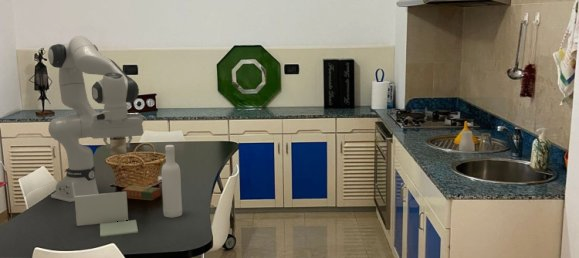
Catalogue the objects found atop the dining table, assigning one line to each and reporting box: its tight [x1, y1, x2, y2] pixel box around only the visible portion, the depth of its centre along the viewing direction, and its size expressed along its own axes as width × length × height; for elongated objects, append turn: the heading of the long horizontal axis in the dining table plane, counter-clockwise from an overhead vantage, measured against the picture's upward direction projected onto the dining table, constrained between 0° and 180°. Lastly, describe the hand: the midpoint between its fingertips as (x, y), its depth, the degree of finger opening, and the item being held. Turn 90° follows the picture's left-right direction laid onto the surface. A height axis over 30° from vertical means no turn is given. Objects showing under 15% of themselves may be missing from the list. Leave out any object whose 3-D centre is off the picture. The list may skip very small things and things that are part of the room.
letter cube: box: [109, 137, 128, 156], centre depth 235 cm, size 6×6×6 cm
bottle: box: [160, 144, 183, 219], centre depth 245 cm, size 8×8×30 cm
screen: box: [74, 191, 129, 227], centre depth 238 cm, size 20×2×12 cm, turn 108°
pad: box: [99, 219, 139, 238], centre depth 231 cm, size 14×14×1 cm
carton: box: [121, 185, 162, 201], centre depth 275 cm, size 8×16×4 cm, turn 72°
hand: (118, 147), depth 235 cm, fingers closed on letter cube, 6 cm apart
